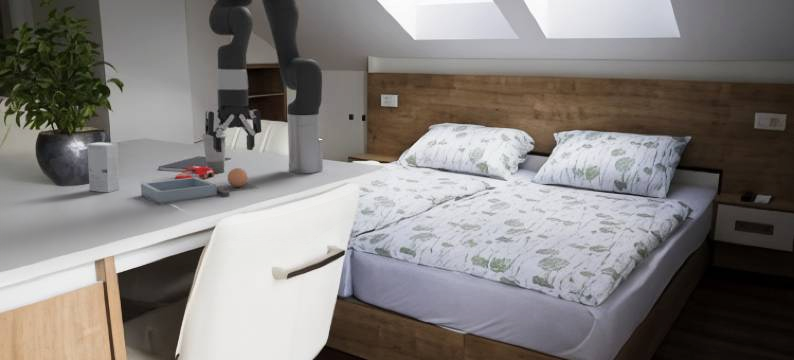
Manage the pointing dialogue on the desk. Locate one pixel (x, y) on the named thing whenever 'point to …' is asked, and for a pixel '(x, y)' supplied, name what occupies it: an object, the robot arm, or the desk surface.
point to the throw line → (222, 192)
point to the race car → (196, 173)
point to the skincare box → (103, 167)
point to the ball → (237, 177)
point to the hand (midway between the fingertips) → (234, 150)
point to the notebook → (188, 164)
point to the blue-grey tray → (177, 190)
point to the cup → (214, 153)
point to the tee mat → (232, 188)
